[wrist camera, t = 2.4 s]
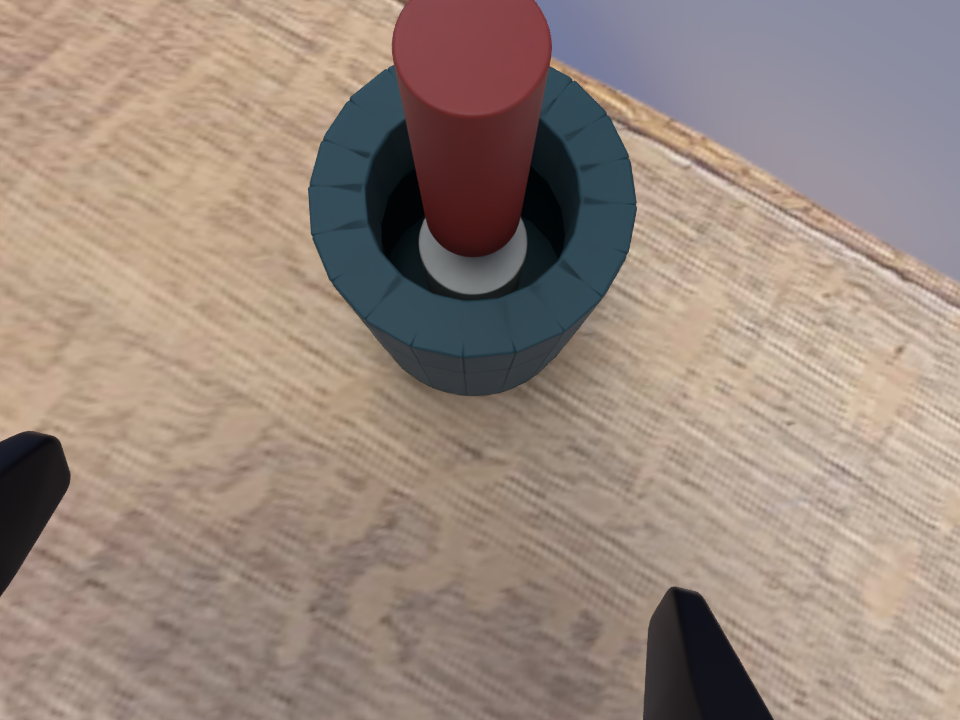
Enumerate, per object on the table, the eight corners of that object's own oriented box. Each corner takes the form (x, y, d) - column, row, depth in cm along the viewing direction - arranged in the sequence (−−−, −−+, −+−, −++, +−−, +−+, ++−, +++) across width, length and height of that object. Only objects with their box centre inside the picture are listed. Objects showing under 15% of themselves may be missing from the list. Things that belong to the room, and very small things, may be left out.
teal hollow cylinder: (610, 260, 24) (693, 141, 15) (510, 434, 23) (534, 419, 14) (438, 164, 24) (417, -7, 15) (333, 330, 23) (245, 251, 14)
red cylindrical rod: (529, 312, 22) (609, 99, 9) (448, 341, 22) (408, 169, 9) (498, 234, 23) (531, -78, 9) (418, 262, 22) (338, -14, 9)
